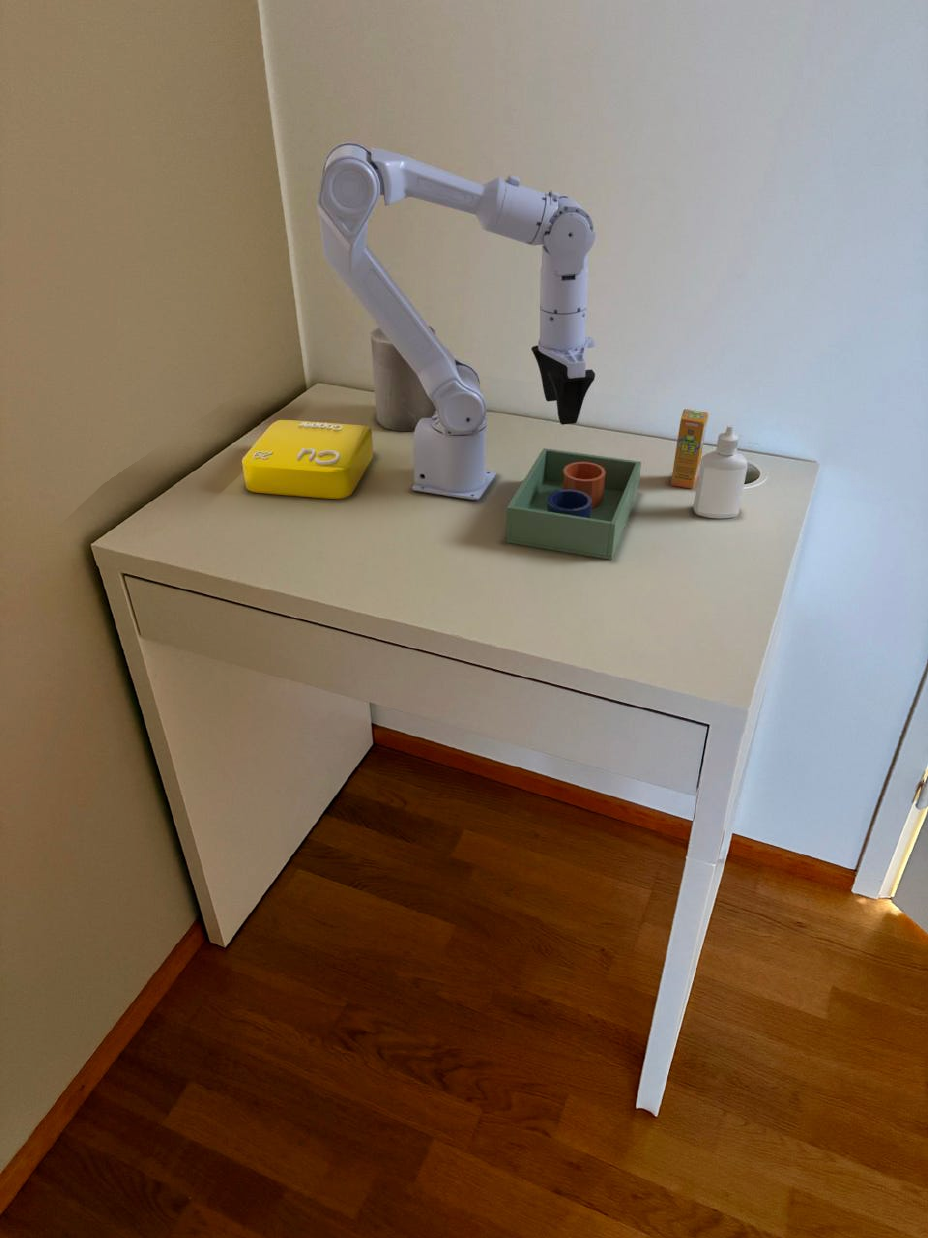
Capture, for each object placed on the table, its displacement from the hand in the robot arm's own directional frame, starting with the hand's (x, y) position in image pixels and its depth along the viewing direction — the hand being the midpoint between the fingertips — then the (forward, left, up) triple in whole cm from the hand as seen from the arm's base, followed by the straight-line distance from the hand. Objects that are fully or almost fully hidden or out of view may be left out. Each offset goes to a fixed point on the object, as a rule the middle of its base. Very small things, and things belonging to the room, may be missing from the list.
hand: (560, 411), depth 120 cm
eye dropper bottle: (+22, -3, -10) cm, 24 cm away
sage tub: (+5, -10, -10) cm, 15 cm away
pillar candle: (-27, +12, -10) cm, 32 cm away
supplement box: (+17, +4, -10) cm, 20 cm away
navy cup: (+5, -14, -10) cm, 17 cm away
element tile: (-33, -9, -10) cm, 36 cm away
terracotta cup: (+5, -6, -10) cm, 12 cm away
